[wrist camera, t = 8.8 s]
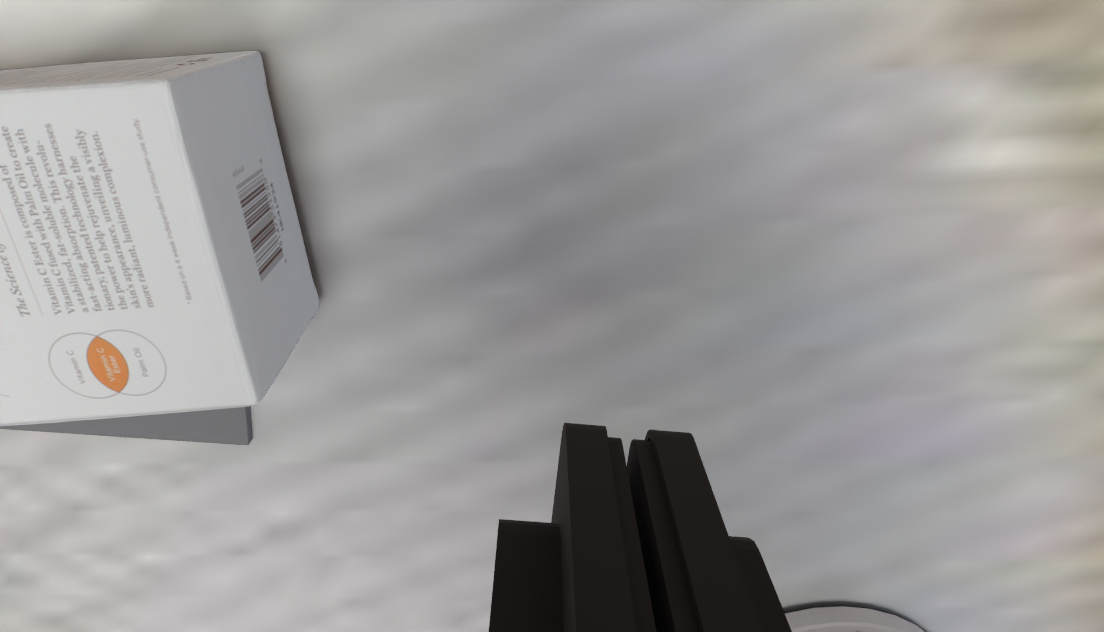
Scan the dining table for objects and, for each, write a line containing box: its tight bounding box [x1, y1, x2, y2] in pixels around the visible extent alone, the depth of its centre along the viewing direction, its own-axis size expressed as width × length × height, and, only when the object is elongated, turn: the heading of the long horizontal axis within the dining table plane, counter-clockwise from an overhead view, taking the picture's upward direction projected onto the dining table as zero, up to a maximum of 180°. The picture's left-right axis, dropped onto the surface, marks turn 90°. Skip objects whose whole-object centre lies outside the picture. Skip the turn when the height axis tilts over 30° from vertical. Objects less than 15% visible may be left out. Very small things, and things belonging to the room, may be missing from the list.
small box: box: [0, 51, 320, 426], centre depth 19 cm, size 8×6×13 cm
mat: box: [0, 406, 252, 445], centre depth 23 cm, size 11×10×1 cm
